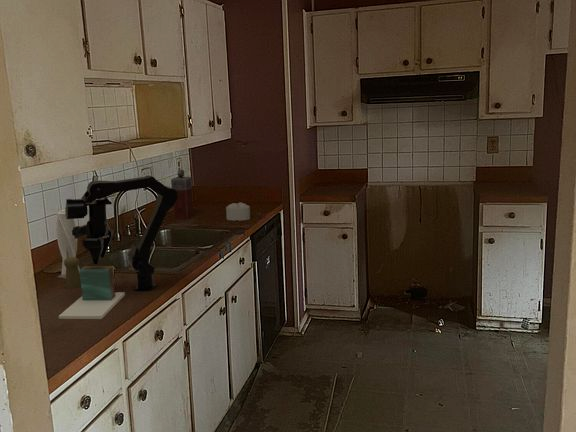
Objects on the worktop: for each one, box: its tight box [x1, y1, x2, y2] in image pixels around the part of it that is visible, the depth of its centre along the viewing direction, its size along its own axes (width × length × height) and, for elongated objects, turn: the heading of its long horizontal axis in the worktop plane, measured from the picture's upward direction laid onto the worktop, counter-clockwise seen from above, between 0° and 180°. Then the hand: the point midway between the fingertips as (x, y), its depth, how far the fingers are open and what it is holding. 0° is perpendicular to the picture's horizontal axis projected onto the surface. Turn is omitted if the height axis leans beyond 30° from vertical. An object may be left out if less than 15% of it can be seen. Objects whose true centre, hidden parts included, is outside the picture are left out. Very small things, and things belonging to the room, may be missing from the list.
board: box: [58, 291, 126, 320], centre depth 193 cm, size 22×14×1 cm, turn 177°
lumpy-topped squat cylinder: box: [225, 202, 251, 222], centre depth 324 cm, size 10×13×9 cm
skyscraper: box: [55, 205, 81, 280], centre depth 225 cm, size 8×8×28 cm
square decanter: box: [170, 169, 195, 220], centre depth 328 cm, size 9×11×28 cm
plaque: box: [80, 265, 116, 300], centre depth 196 cm, size 4×10×11 cm, turn 87°
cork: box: [64, 257, 81, 290], centre depth 213 cm, size 6×6×11 cm
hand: (99, 260), depth 201 cm, fingers open, 9 cm apart
